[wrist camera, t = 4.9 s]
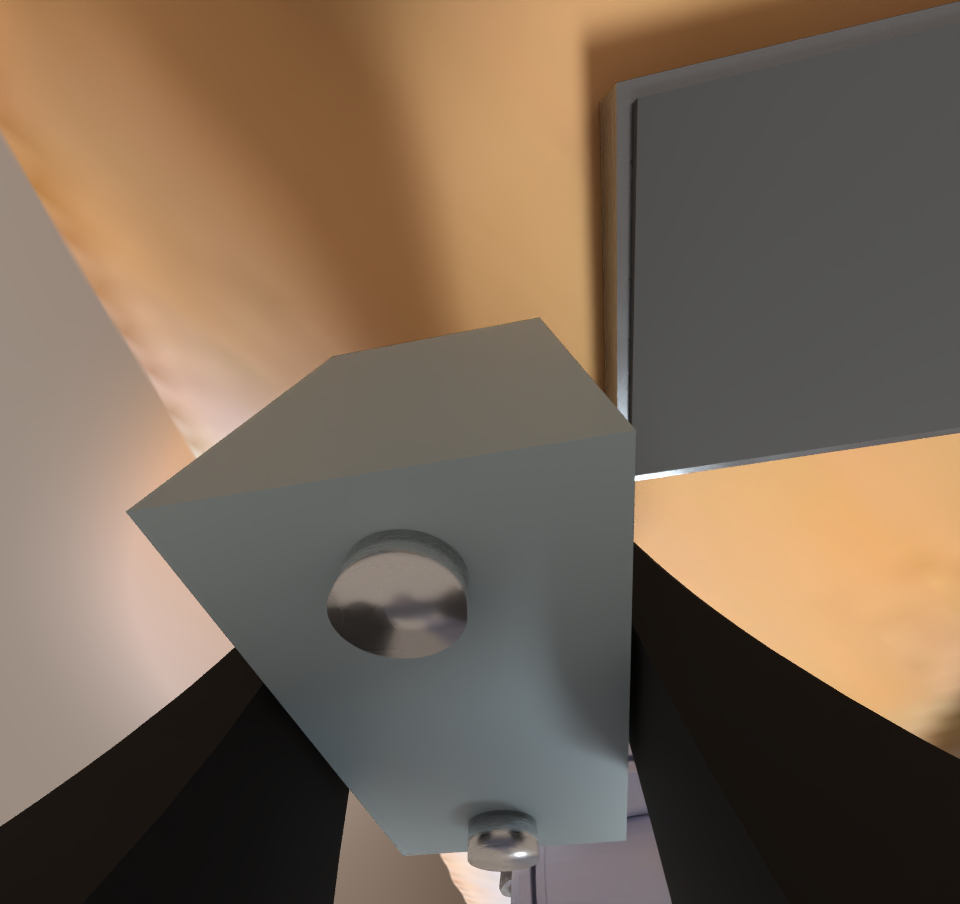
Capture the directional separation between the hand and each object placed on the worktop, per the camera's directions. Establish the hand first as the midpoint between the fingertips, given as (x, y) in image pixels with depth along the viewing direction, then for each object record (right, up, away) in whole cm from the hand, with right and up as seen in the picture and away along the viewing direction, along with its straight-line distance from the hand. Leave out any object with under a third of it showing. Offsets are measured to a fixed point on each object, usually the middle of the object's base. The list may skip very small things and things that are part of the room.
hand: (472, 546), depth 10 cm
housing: (0, +1, +1) cm, 2 cm away
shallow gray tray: (+13, +9, +5) cm, 16 cm away
